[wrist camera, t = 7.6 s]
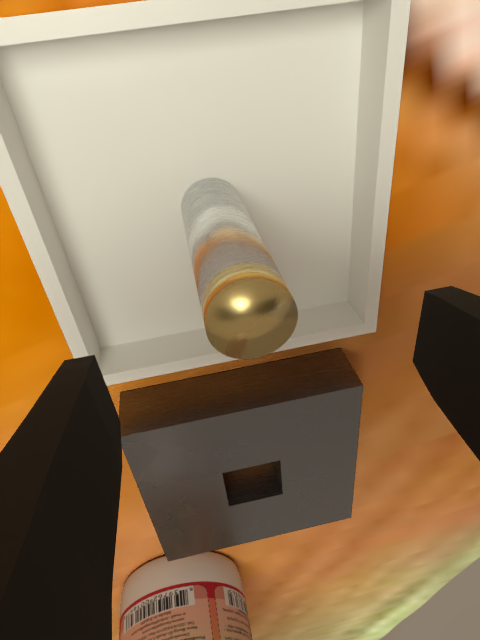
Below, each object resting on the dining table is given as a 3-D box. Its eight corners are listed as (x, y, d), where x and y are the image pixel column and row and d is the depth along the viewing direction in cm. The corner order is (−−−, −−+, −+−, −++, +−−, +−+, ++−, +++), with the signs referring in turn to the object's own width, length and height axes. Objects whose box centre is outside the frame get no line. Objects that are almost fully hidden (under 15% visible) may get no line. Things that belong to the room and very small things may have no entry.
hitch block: (340, 347, 24) (363, 385, 22) (334, 478, 31) (351, 517, 29) (120, 392, 23) (117, 437, 21) (165, 517, 30) (168, 561, 28)
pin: (237, 173, 17) (297, 273, 11) (243, 230, 18) (298, 349, 12) (175, 182, 17) (198, 291, 10) (186, 240, 18) (211, 367, 12)
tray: (375, -26, 15) (414, -32, 13) (354, 301, 22) (376, 331, 20) (-36, 23, 13) (-68, 26, 11) (92, 352, 21) (87, 389, 19)
